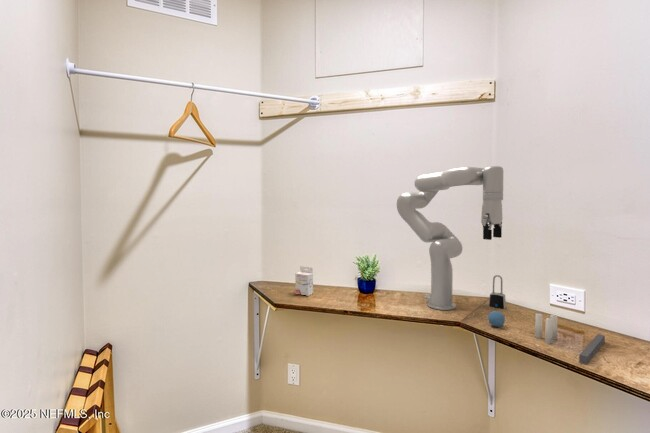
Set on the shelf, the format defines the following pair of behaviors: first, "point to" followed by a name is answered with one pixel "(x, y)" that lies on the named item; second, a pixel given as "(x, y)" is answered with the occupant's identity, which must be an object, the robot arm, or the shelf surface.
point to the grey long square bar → (591, 349)
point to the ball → (496, 318)
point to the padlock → (497, 297)
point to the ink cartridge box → (304, 281)
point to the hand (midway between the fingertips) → (492, 238)
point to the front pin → (538, 325)
